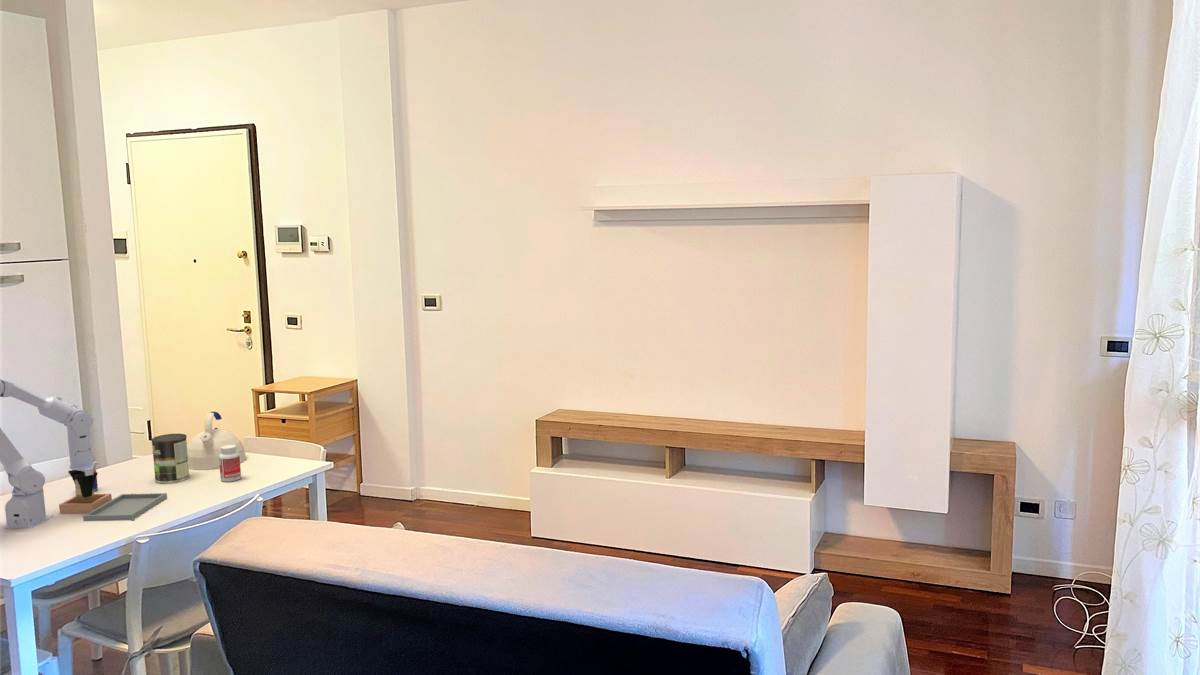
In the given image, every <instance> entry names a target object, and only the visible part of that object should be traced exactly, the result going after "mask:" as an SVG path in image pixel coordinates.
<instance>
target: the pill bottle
mask: <svg viewBox="0 0 1200 675" xmlns="http://www.w3.org/2000/svg"><path fill="white" fill-rule="evenodd" d="M236 449H237V448H236V445H226V446H222V447H221V452H222V453H221V454H220V455H219V465H220V468H219V472H220V473H219V474H220V475H219V476H220V481H221V482H224V483H225V482H226V483H227V482H229V483H231V482H235V481H238V480H240V479H241V478H242V471H241V463H240V456H239V453H238V452H236Z"/></svg>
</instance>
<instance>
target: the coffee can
mask: <svg viewBox="0 0 1200 675" xmlns="http://www.w3.org/2000/svg"><path fill="white" fill-rule="evenodd" d="M151 445H152V454H153V455H152V456H153V467H154V468H153V469H154V482H155V483H157V484H174V483H179V481H180V482H183V481H185V480H188V479H189V478H190V469H189V466H188V454H187V445H188V443H187V434H185V433H168V434H167V433H166V434H162V435H158V436H154V437H151Z"/></svg>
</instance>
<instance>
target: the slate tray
mask: <svg viewBox="0 0 1200 675" xmlns="http://www.w3.org/2000/svg"><path fill="white" fill-rule="evenodd" d="M167 499H168V493H167V492H163V493H162V492H161V493H160V492H159V493H157V492H155V493H154V492H153V493H152V492H151V493H150V492H149V493H121V494H119V495H118V496H116V497H115V498H112V500H111V501H109V502H107V503H105V504H103V505H102V506H100V507H98V508H96V509H95V510H93V511H91V512H89V513H85V515H82V519H83V522H94V521H95V522H96V521H98V522H99V521H102V522H103V521H105V522H106V521H131V522H134V519H135V518H136V519H137V517H138V516H140V515H141V514H143V513H144V514H145V512H146V511H147V512H148V510H149V509H151V508H152V507H154V506H155V507H156V505H157V506H158V505H159V503H160V504H161V502H162V503H163V502H165V501H166V500H167ZM164 500H165V501H164ZM152 509H153V508H152ZM149 511H150V510H149ZM141 516H142V515H141ZM138 518H139V517H138Z"/></svg>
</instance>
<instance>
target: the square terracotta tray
mask: <svg viewBox="0 0 1200 675" xmlns="http://www.w3.org/2000/svg"><path fill="white" fill-rule="evenodd" d="M112 497H113V496H112V493H94V502H92V503H77V499H76V495H75V496H73V497H71V498H69V499H67V500H65V501H63V502H61V503H59V505H58V509H59V514H88V513H89V512H91V511H93V510H95V509H96V508H98V507H100V506H102V505H103V504H105V503H107V502H109V501H111V500H112V499H113V498H112Z"/></svg>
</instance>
